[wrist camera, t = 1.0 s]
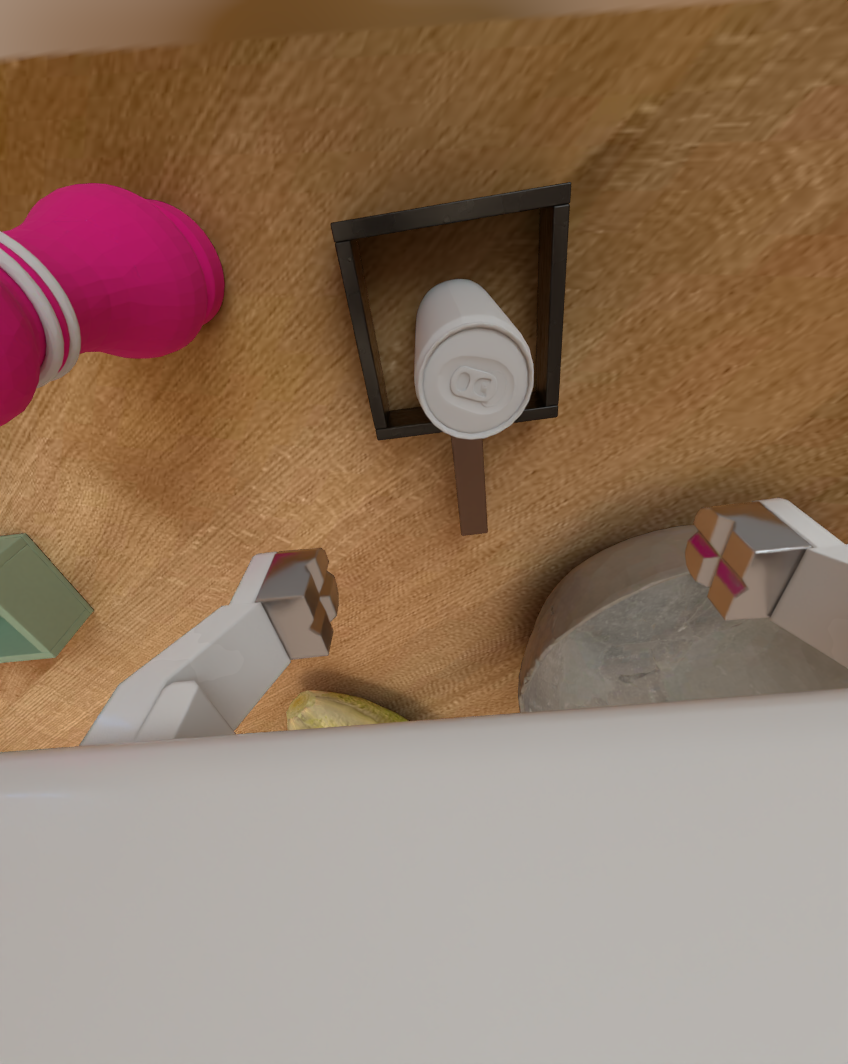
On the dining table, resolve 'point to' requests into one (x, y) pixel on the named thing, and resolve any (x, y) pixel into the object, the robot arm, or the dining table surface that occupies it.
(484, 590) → the dining table surface
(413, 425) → the handled rectangular frame
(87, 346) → the pepper mill
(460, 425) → the beverage can
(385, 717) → the lettuce
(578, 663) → the bowl
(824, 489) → the dining table surface
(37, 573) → the bin
